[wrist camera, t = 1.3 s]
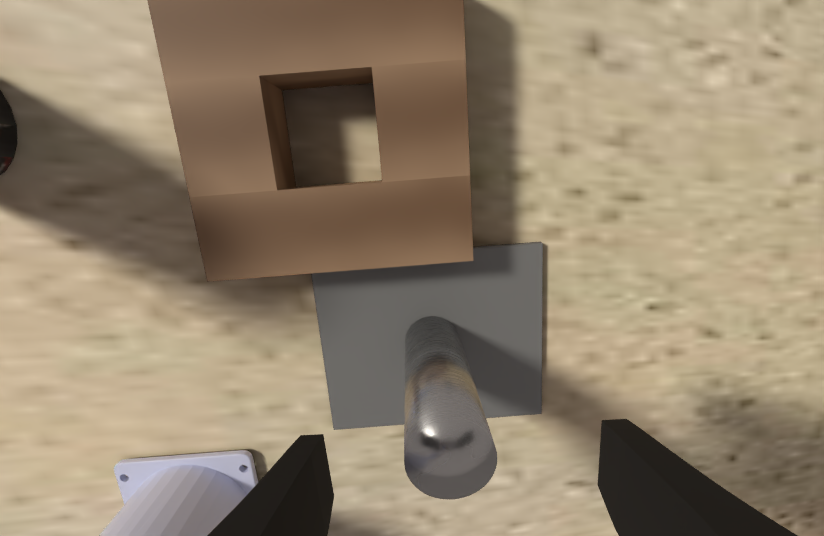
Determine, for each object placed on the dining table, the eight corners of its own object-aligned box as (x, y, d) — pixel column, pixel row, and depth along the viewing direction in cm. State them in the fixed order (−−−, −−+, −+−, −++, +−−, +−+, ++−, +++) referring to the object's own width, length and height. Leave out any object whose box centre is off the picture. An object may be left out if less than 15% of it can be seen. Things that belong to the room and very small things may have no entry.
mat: (539, 409, 23) (541, 413, 23) (335, 425, 23) (333, 429, 23) (539, 241, 21) (542, 243, 20) (311, 259, 21) (309, 261, 20)
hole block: (463, 247, 21) (473, 260, 18) (235, 265, 21) (207, 281, 18) (452, -15, 18) (461, -51, 15) (185, 6, 18) (142, -26, 15)
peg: (460, 364, 22) (498, 495, 13) (406, 368, 22) (408, 502, 13) (458, 313, 21) (496, 416, 12) (402, 318, 21) (400, 424, 12)
